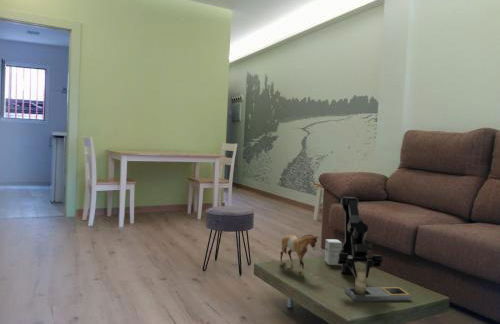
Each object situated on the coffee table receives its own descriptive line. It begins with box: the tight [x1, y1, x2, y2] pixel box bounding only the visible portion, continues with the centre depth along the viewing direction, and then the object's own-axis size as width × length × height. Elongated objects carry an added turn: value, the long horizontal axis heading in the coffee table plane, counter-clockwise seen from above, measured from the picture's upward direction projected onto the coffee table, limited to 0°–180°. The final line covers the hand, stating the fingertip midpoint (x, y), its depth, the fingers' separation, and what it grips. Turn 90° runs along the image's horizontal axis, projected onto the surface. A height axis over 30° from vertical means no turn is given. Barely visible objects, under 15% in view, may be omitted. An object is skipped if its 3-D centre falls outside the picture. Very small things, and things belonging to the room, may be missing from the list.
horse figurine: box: [279, 234, 319, 277], centre depth 207 cm, size 31×8×21 cm, turn 25°
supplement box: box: [324, 238, 343, 266], centre depth 222 cm, size 7×7×13 cm
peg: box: [354, 267, 367, 295], centre depth 172 cm, size 4×4×10 cm
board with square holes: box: [344, 286, 412, 302], centre depth 174 cm, size 25×11×2 cm, turn 98°
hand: (361, 277), depth 171 cm, fingers closed on peg, 4 cm apart
